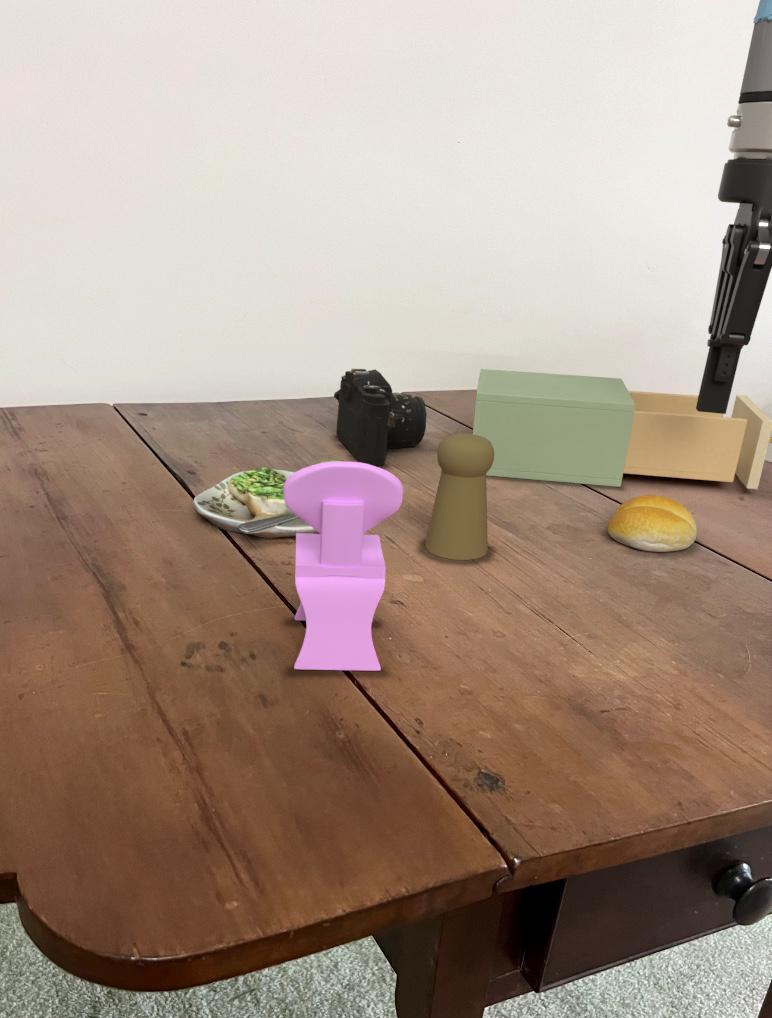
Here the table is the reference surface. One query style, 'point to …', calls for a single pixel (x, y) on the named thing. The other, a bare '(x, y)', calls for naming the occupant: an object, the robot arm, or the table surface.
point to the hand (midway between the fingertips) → (710, 410)
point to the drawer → (697, 439)
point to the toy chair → (340, 560)
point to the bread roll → (653, 524)
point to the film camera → (376, 416)
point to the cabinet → (555, 426)
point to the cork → (461, 498)
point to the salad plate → (252, 504)
